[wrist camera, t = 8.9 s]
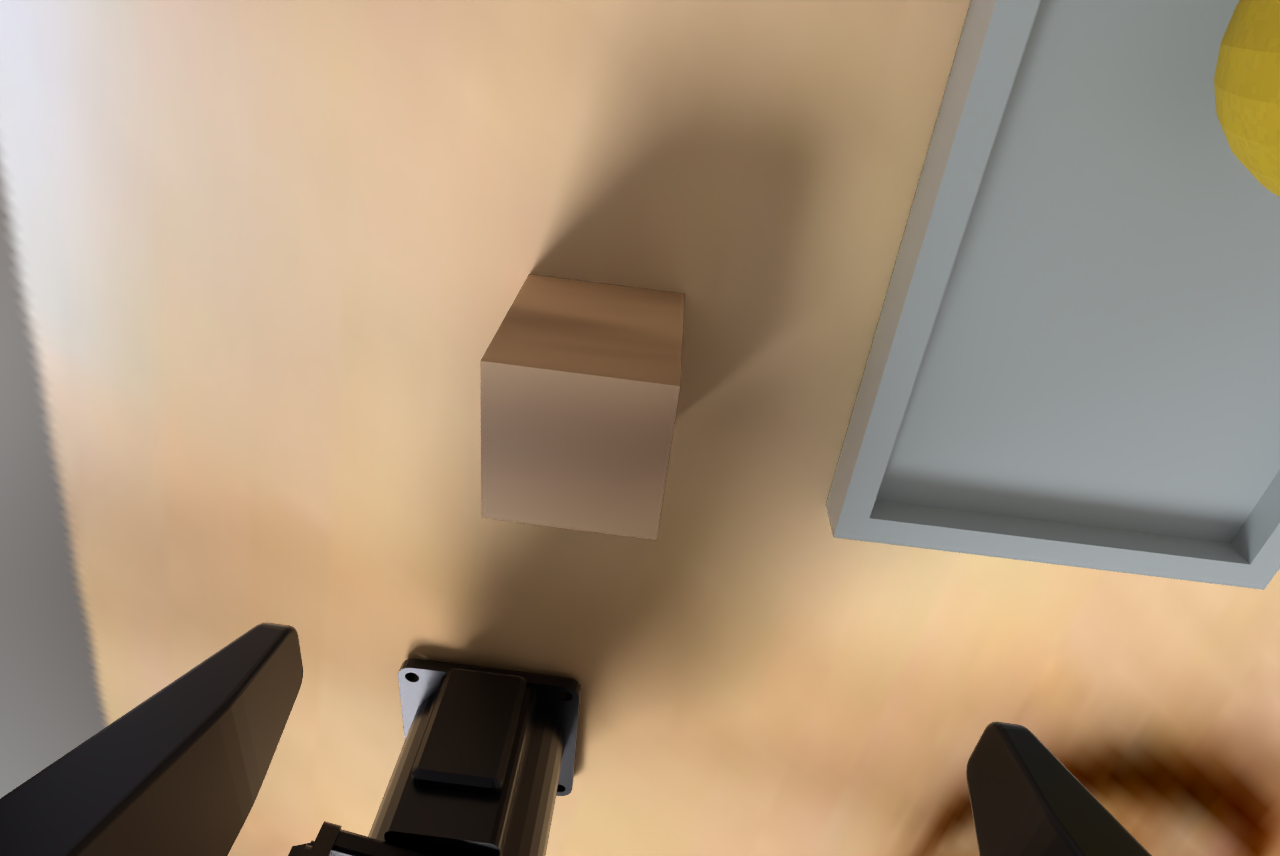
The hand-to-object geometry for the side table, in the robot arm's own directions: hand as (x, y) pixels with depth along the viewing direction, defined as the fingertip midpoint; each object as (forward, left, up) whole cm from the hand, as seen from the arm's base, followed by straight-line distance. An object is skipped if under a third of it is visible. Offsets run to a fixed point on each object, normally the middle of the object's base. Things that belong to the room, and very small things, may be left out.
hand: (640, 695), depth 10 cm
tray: (+4, -11, -12) cm, 17 cm away
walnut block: (-1, +2, -12) cm, 12 cm away
